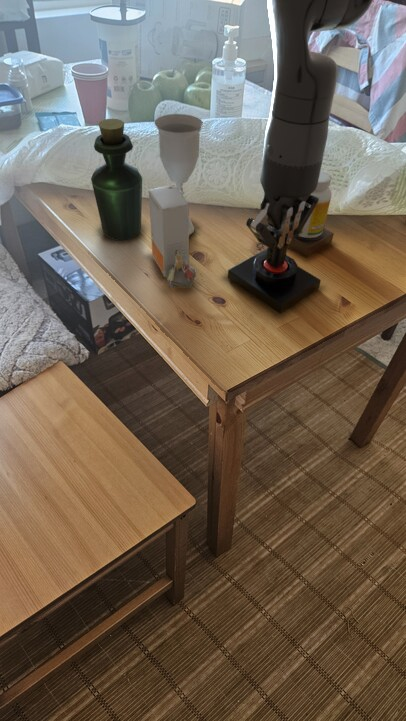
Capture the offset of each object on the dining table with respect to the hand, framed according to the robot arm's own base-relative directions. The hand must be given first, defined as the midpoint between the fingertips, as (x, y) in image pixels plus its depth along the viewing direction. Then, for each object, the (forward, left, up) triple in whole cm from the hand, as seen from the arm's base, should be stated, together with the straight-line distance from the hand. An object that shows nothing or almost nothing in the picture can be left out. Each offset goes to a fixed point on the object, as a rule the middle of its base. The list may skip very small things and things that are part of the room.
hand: (275, 263), depth 76 cm
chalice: (+21, +1, -4) cm, 21 cm away
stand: (+4, -13, -4) cm, 14 cm away
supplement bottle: (+4, -13, -1) cm, 13 cm away
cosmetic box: (+14, +9, -4) cm, 17 cm away
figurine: (+9, +11, -4) cm, 15 cm away
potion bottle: (+27, +9, -4) cm, 29 cm away
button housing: (0, 0, -4) cm, 4 cm away
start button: (0, 0, -2) cm, 2 cm away
